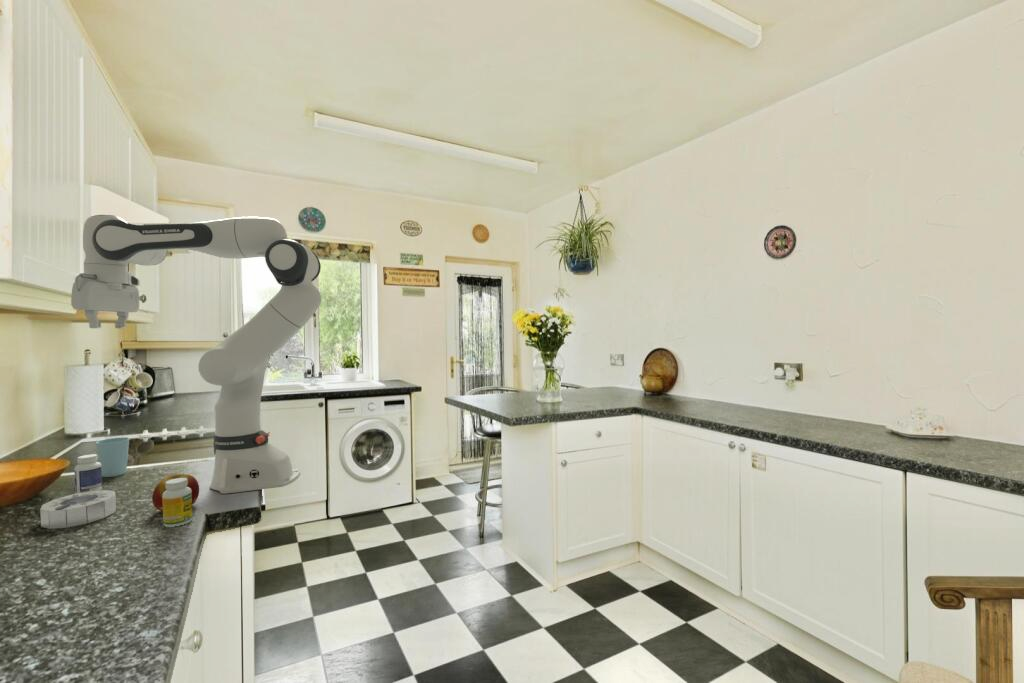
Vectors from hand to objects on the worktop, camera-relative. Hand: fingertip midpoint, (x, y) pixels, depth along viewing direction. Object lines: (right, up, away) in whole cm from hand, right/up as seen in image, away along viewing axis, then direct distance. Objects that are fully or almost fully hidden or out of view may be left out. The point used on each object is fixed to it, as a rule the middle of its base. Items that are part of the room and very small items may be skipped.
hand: (108, 328), depth 124 cm
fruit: (+28, -44, -13) cm, 54 cm away
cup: (-12, -44, +16) cm, 48 cm away
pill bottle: (-6, -44, 0) cm, 45 cm away
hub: (+8, -44, -17) cm, 48 cm away
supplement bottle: (+34, -44, -21) cm, 60 cm away
